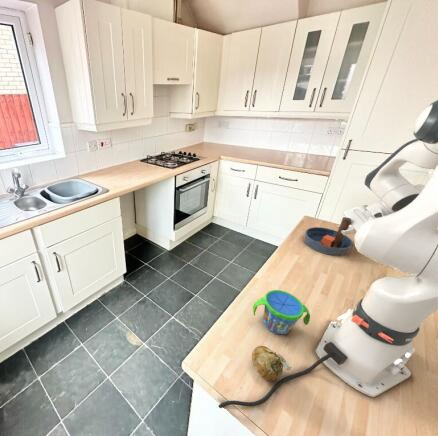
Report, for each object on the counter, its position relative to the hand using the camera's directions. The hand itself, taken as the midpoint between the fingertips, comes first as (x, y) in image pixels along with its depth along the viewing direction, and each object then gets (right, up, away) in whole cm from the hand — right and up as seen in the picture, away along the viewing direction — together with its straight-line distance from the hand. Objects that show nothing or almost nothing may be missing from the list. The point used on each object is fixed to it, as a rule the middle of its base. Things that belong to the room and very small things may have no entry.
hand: (340, 231), depth 106 cm
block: (-1, -7, +7) cm, 10 cm away
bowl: (-1, -7, +8) cm, 11 cm away
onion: (-53, -35, -41) cm, 76 cm away
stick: (+1, -7, +4) cm, 8 cm away
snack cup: (-44, -29, -29) cm, 60 cm away
